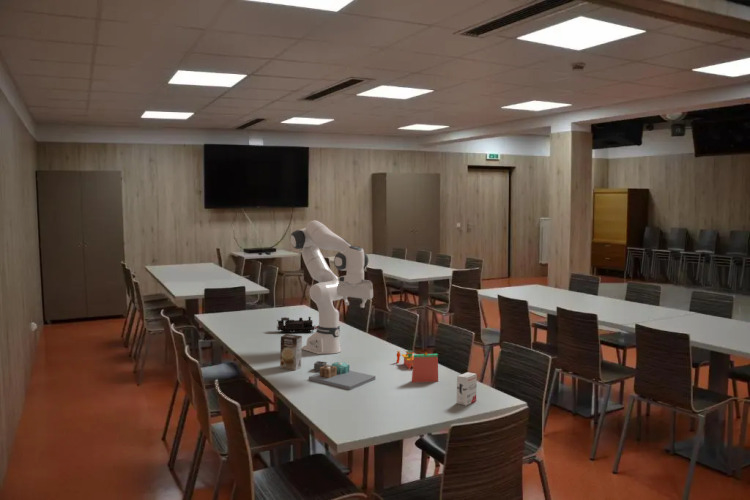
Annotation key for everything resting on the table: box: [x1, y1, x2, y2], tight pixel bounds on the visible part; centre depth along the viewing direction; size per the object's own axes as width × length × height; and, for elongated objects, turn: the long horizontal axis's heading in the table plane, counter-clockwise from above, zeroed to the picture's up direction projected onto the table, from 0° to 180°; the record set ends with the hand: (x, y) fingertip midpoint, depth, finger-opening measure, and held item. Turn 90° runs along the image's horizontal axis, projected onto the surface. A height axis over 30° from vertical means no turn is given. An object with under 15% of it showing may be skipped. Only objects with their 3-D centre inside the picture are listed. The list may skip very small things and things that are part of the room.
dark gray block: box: [313, 360, 328, 372], centre depth 290 cm, size 5×5×4 cm
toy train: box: [276, 316, 316, 334], centre depth 372 cm, size 8×25×10 cm, turn 98°
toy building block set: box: [396, 350, 439, 383], centre depth 291 cm, size 12×35×14 cm, turn 13°
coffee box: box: [279, 333, 303, 371], centre depth 292 cm, size 9×6×16 cm
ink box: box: [456, 372, 478, 406], centre depth 247 cm, size 8×5×12 cm, turn 140°
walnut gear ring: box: [319, 364, 337, 378], centre depth 275 cm, size 6×7×4 cm
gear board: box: [308, 361, 376, 391], centre depth 275 cm, size 24×20×6 cm
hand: (354, 306), depth 293 cm, fingers open, 8 cm apart
